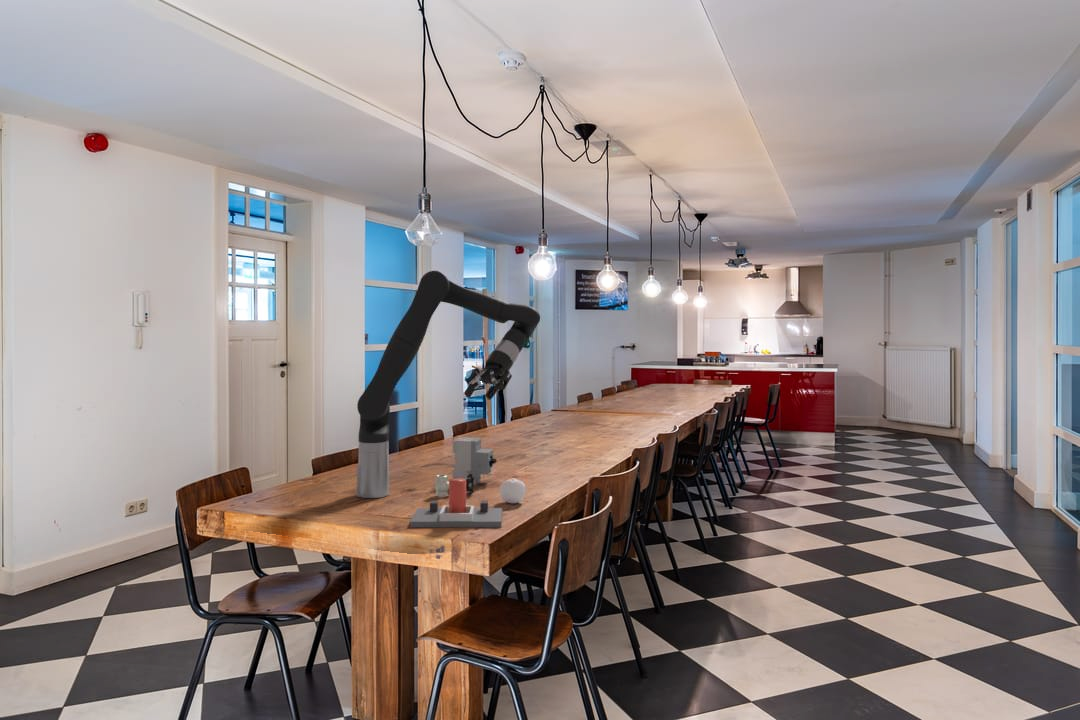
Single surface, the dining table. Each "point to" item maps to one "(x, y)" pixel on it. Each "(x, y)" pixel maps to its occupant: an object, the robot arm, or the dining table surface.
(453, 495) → the cap
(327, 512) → the dining table surface
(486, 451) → the circuit breaker
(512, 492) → the white folded ball
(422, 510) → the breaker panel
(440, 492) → the valve
